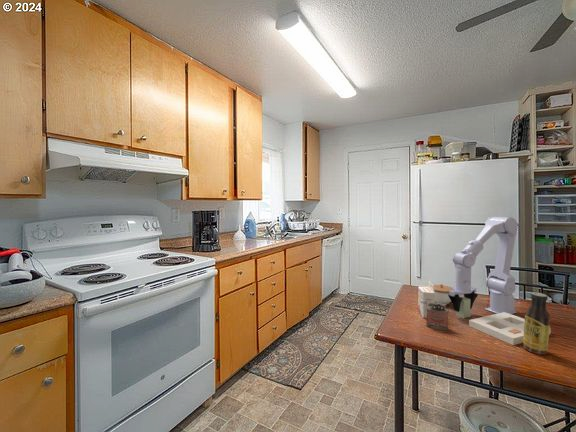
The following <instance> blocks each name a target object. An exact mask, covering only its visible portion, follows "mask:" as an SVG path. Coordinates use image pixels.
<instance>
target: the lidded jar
mask: <svg viewBox="0 0 576 432" xmlns="http://www.w3.org/2000/svg"><path fill="white" fill-rule="evenodd" d="M433 285H434V291H435V304H436V303H440V304H444V305H445V306H447V304H448V305H449V304H450V303H452V302H451V300H450V298H449V296H448V294H449V291H451V290H453V289H454V287H451V286H449V285H445V284H433ZM431 287H432V286H431Z"/></svg>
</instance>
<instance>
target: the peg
mask: <svg viewBox="0 0 576 432" xmlns="http://www.w3.org/2000/svg"><path fill="white" fill-rule="evenodd" d="M460 297H461V298H463V299H462V301H461V304H460V310H459V312H457V311H454V314H455V316H457V317H460V318H461V319H467V318H470V317H471V309H470V299H468V298H465V297H464V296H460Z"/></svg>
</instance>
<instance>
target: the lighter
mask: <svg viewBox="0 0 576 432" xmlns="http://www.w3.org/2000/svg"><path fill="white" fill-rule="evenodd" d="M428 306H432V307H427V308H426V310H427V318H426V323H425V327H426V328H429V329H433V330H434V329H435V330H443V331H444V330H449V312H450V310H449V309H447V308H446V305H444V304H440V303H428ZM434 307H435V308H434Z"/></svg>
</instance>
